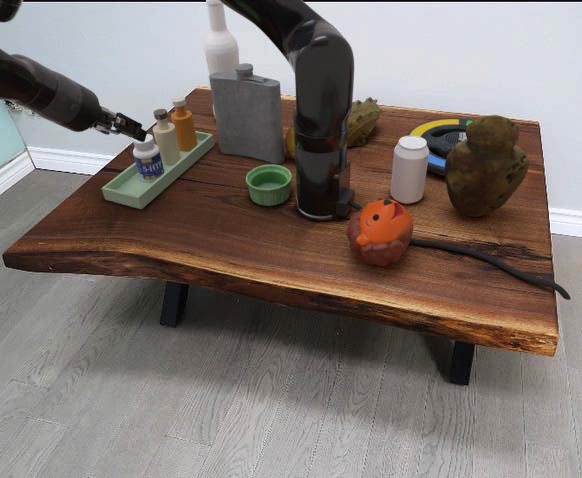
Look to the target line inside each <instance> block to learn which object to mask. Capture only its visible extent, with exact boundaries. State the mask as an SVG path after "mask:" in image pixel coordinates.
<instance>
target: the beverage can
mask: <svg viewBox="0 0 582 478" xmlns="http://www.w3.org/2000/svg"><path fill="white" fill-rule="evenodd" d="M426 144H427V142H426V140H425V139H424V138H422V137H419V136H414V135H409V136H406V135H404V136H402V137H400V138H399V139H398V143H397V144H396V145H395V147H394V149H393V158H392V159H393V160H392V167H391V168H392V169H391V180H390V191H389V192H390V197H392V199H393V200H394V201H396V202H398V203H400V204H406V205H407V204H413V203H416V202H419V201H420V200H422V198H423V195H424V190H425V184H426V178H427V171H428V170H427V164H428V157H429V151H430V150H429V149H428V147H427V145H426Z"/></svg>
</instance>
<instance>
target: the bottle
mask: <svg viewBox="0 0 582 478" xmlns="http://www.w3.org/2000/svg"><path fill="white" fill-rule="evenodd" d="M205 4H206V5H207V13H208V19H209V20H208V22H209V32H208V34H207V36H206V38H205V40H204V43H203V50H204V52H203V53H204V56H205V61H206V65H207V66H206V67H207V70H208V76H209V75H210V74H212V73H234V74H237V72H236V70H235V66H236V65H238V64H240V49H239V45H238V41H237V39H236V36H234V35H233V33H232V32H231V31H230V30H229V29H228V27H227V21H226V14H225V7H224V6H225V5H224V4H223V3H221V2H220V1H218V0H205ZM212 110H213V116H214V117H215V113H214V106H213V105H212Z"/></svg>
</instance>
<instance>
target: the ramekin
mask: <svg viewBox="0 0 582 478" xmlns="http://www.w3.org/2000/svg"><path fill="white" fill-rule="evenodd" d="M292 179H293V174H292V172H291V171H290V169H288V168H287V167H286V166H283V165H280V164H263V165H259V166H257V167H254V168H252V169H251V170H249V171H248V172H247V174H246V176H245V182H246V185H247V188H248V194H249V197H250V199H251V200H252V202H254V203H255V204H257V205H260V206H265V207H272V206H277V205H280V204H283V203H284V202H286V201H287V200H288V199H289V197H290V195H291V186H292Z"/></svg>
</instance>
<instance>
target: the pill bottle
mask: <svg viewBox="0 0 582 478" xmlns="http://www.w3.org/2000/svg"><path fill="white" fill-rule="evenodd" d="M132 142H133V145H134V148H133V150H132V155H133V159H134V163H136V167H137V170H138V174H139V177H140V179H141V180H142V181H145V182H154V181H156V180H157V179H158V178H159V177H161V176H162V175H163V174H164V168H163V163H162V159H161V155H160V150H159V147H158V146H157V145H156V143H155V137H154V135H153V134H151V133H147V135H146V139H145V141H144V142H140V141H138V140H136V139H134V138H132Z"/></svg>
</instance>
